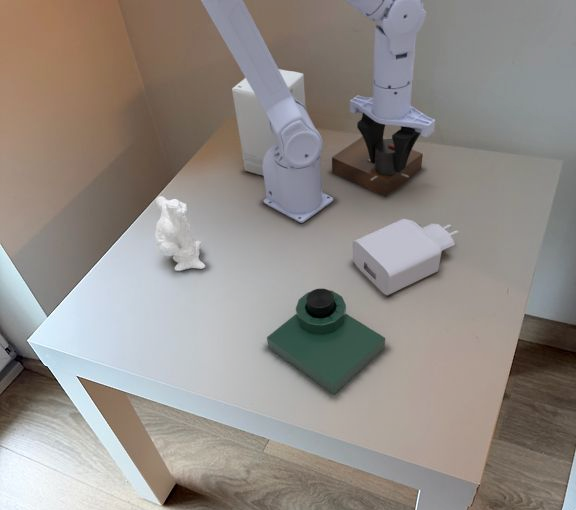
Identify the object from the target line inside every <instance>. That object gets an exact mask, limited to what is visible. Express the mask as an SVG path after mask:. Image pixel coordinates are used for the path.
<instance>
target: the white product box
mask: <svg viewBox="0 0 576 510" xmlns="http://www.w3.org/2000/svg"><path fill="white" fill-rule="evenodd" d="M278 69H279V71H280V73H281V75H282V77H283V79H284V81H285V83H286V85H287V86H288V88H289V90H290V92H291V94H292V96H293V97H294V98H295V99H296V100H298V101H299V102H301V103H302V104H303V105H304V106H305V107H306V94H305V75H304V73H302V72H298V71H292V70H286V69H281V68H278ZM231 90H232V97H233V104H234V110H235V117H236V122H237V129H238V135H239V140H240V141H239V142H240V147H241V154H242V159H243V166H244V171H245V172H249V173H251V174H256V175H259V176H262V177H264V175H263V160H264V157H265V155H266V153H267V151H268V150H269V149H270V148H271V147H272V146H274V145H276V144H277V141H276V138H275V136H274V134H273V133H272V131H271V129H270V125H269V118H268V116H267V114H266V112H265V110H264V109H263V107H262V105H261V104H260V102H259V100H258V98H257V97H256V95H255V93H254V91H253V90H252V88H251V86H250V85H249V83H248V81H247V79H246V78H245V77H244V78H243V79H242V80H241V81H240V82H238V84H236V85H235V86H233V87H232V88H231Z"/></svg>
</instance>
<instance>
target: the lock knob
mask: <svg viewBox="0 0 576 510" xmlns="http://www.w3.org/2000/svg"><path fill="white" fill-rule="evenodd" d="M375 171H376V172H377V173H378V174H380V175H385V176H390V175H394V174H397V173H398V172H395V148H394V142H393V139H392V138H384V140H381V141H379V142H378V143H377V144H376V146H375Z"/></svg>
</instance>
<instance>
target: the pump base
mask: <svg viewBox="0 0 576 510" xmlns="http://www.w3.org/2000/svg"><path fill="white" fill-rule="evenodd" d="M328 290H329V291H331V292H332V293H333V295H334V312H333V313H332V314H331V315H330V316H329V317H326V318H322V319H320V318H314V317H312V316H311V315H310V314H309V313H308V310H307V300H306V298H307V295H308V294H309V293H310V292H311V291H308V292H306V293H305V294H304V295H303V296H301V297H300V298H299V299H298V301H297V302H296V306H295V314H294V315H293V316H291V317H290V318H289V319H288V320H286V321H285V322H284V323H283V324H281V325H280V326H278V327H277V329H275V330H273V332H272V333H270V334H269V335H268V336H266V341H267V345H268V348H269V350H270V351H273V353H275V354H277V355H278V356H279V357H281V358H282V359H283V360H285V361H286V362H287V363H289V364H290V365H292V366H293V367H295V368H296V369H298V370H299V371H300V372H301V373H303V374H304V375H306V376H307V377H308V378H310V379H311V380H312V381H314V383H317V384H318V385H320V386H321V387H322V388H324V389H325V390H326V391H328V392H329V393H331V394H332V395H336V394H337V393H338V392H339V391H340V390H341V389H342V388H344V387H345V386H346V385H347V384H348V383H349V382H350V381H352V379H353V378H354V377H356V375H357V374H359V373H360V372H361V371H362V370H363V369H364V368H365V367H366V366H367V365H369V364H370V362H372V361H373V360H374V359H376V357H377V356H378V355H380V353H382V352H383V351H385V348H386V347H385V346H386V337H385V336H383V335H382V334H380V333H378V332H376V331H375V330H373V329H371V328H370V327H369V326H367V325H365V324H363V323H362V322H361V321H359V320H357V319H355V318H354V317H352V316H350V314H348V313H347V304H346V302H345V300H344V298H343V296H342V295H340V294H339V293H337V292H335V291H333V290H330V289H328Z"/></svg>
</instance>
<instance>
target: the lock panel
mask: <svg viewBox="0 0 576 510" xmlns="http://www.w3.org/2000/svg"><path fill="white" fill-rule="evenodd" d="M384 139H385V138H384V137H383V140H384ZM423 156H424V154H423V152H420V151H417V150H415V149H412V150H411V152H410V155H409V157H408V160H407V164H406V167H405V168H404V169H403V170H402V171H400V172H399V173H397V174H394V175H390V176H385V175H380V174H378V173H377V172H376V171H375V163H371V160H370V156H369V152H368V149H367V145H366V143H365V140H364V138H363V136H361V137H360V138H358V139H357V140H356V141H354V142H352V143H351V144H350V145H348V146H346V147H345V148H343V149H342V150H341V151H339V152H338V153H336V154H334V155H333V156H332V157H331V171H332V174H334V175H335V176H338V177H341V178H343V179H345V180H347V181H349V182H352V183H354V184H356V185H359V186H360V187H363V188H365V189H367V190H369V191H371V192H374V193H376V194H378V195H380V196H382V197H384V198H385V197H387V196H388V195H389V194H391V193H392V192H394V191H395V190H396V189H397V188H399V187H401V186H402V185H403V184H404V183H405V182H407V181H408V180H409V179H411V178H412V177H414V176H415V175H416V174H418V173H419V172H420V171H421V170H422V166H423V165H422V164H423Z"/></svg>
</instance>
